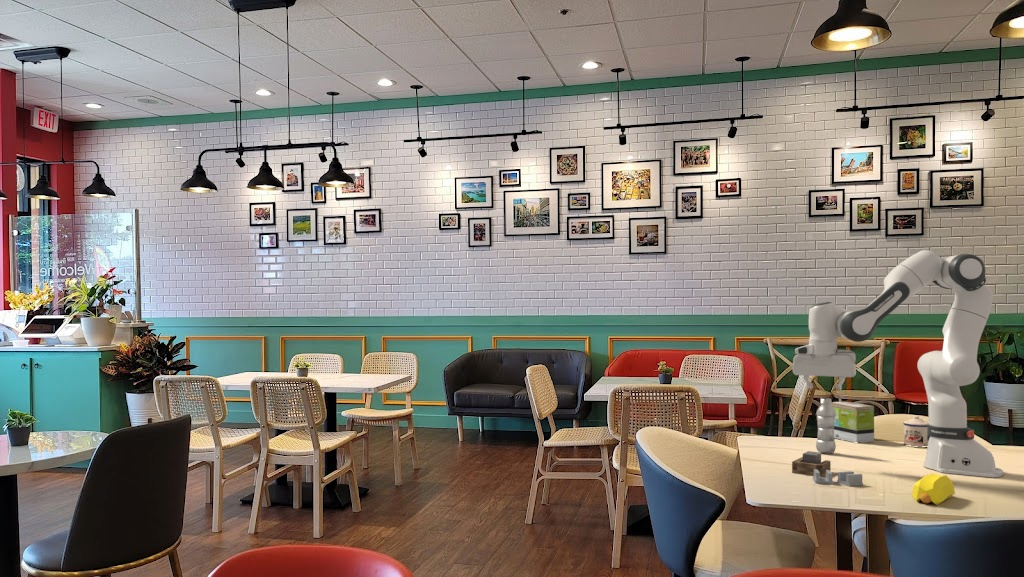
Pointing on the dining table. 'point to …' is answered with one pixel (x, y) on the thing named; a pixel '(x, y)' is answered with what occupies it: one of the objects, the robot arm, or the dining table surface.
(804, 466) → the holder
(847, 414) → the tea box
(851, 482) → the clip
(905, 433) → the teacup with lid
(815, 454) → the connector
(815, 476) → the clip
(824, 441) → the open metal bottle
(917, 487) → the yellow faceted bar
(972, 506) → the dining table surface
